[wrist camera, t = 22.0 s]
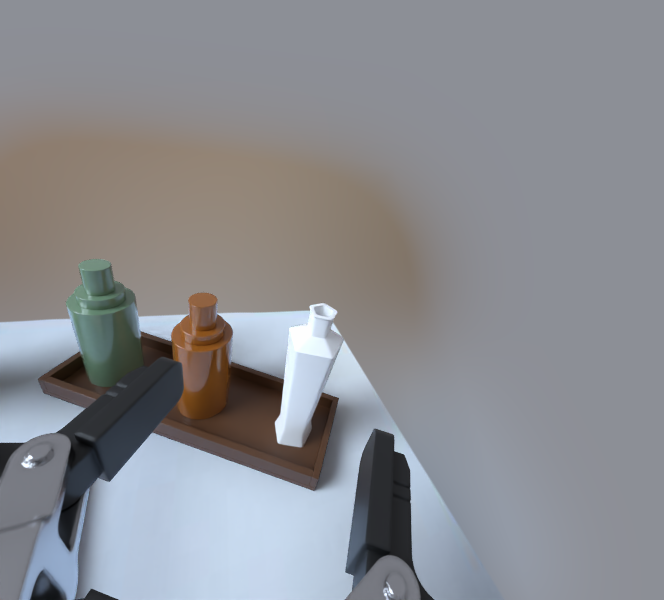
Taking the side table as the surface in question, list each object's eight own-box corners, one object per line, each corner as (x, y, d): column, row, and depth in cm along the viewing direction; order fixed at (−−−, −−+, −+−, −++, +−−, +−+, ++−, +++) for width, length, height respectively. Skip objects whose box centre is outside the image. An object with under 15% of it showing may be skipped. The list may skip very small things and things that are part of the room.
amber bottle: (213, 373, 33) (215, 279, 27) (238, 402, 31) (246, 306, 25) (167, 394, 30) (157, 292, 24) (191, 429, 27) (187, 325, 21)
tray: (334, 409, 34) (338, 397, 33) (314, 491, 26) (318, 479, 25) (123, 337, 36) (120, 324, 35) (43, 393, 28) (37, 378, 27)
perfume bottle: (282, 461, 27) (314, 336, 19) (263, 422, 30) (284, 300, 22) (323, 440, 30) (365, 324, 22) (302, 407, 32) (333, 293, 25)
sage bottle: (134, 346, 34) (118, 248, 28) (152, 373, 32) (139, 272, 25) (80, 364, 31) (48, 256, 24) (96, 395, 28) (64, 284, 22)
